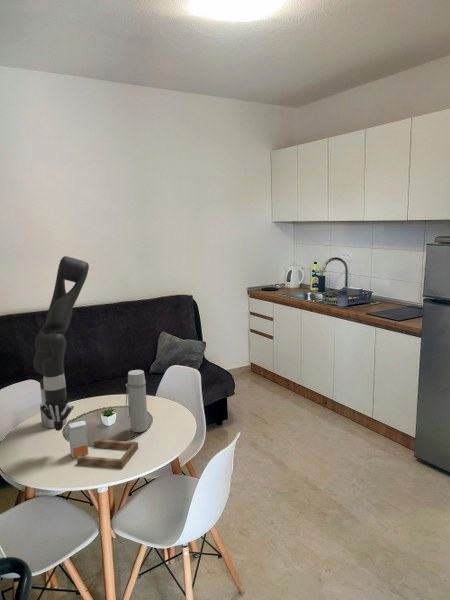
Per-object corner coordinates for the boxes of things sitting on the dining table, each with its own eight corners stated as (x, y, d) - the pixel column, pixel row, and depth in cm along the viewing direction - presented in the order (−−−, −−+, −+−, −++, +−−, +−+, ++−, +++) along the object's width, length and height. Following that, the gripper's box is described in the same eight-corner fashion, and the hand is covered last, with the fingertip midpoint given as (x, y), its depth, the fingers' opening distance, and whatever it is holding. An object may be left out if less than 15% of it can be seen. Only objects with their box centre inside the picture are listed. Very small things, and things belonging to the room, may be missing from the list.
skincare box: (72, 458, 158) (69, 428, 156) (70, 453, 162) (67, 423, 160) (89, 454, 161) (86, 424, 159) (87, 449, 164) (84, 419, 162)
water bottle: (150, 425, 183) (147, 369, 179) (145, 434, 175) (142, 375, 171) (129, 424, 184) (126, 369, 180) (123, 433, 176) (119, 375, 172)
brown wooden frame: (77, 464, 154) (76, 457, 153) (96, 445, 167) (95, 439, 167) (122, 468, 150) (122, 461, 150) (138, 448, 164) (137, 442, 164)
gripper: (32, 388, 156) (37, 433, 159) (65, 390, 153) (69, 435, 156) (44, 381, 163) (49, 424, 166) (76, 383, 161) (80, 426, 164)
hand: (59, 429), depth 161 cm, fingers closed
